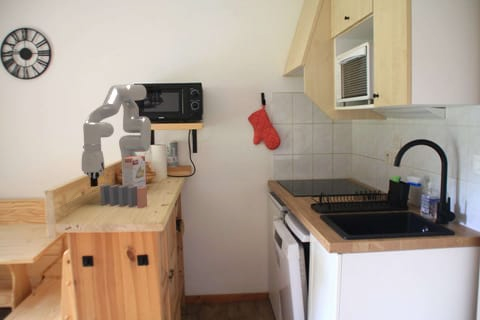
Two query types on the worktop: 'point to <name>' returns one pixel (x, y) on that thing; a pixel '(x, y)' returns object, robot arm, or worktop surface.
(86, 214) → the worktop surface
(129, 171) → the cracker box
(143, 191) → the red domino
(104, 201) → the domino
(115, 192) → the domino
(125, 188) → the domino
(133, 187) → the domino
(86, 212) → the worktop surface
